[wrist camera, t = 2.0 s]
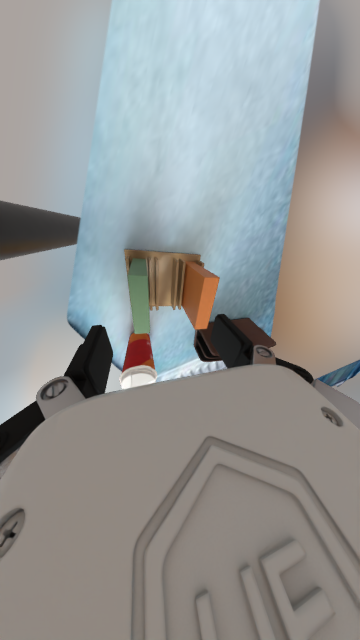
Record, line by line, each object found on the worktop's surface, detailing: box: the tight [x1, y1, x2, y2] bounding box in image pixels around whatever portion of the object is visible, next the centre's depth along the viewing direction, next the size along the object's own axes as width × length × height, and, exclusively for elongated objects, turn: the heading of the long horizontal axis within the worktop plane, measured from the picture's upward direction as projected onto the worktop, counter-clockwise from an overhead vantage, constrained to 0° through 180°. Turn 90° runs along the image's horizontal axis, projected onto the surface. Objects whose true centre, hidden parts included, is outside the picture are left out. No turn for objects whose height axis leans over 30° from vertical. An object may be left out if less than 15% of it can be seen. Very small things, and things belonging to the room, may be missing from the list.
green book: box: [128, 258, 150, 334], centre depth 26 cm, size 3×10×13 cm, turn 174°
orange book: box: [181, 261, 220, 329], centre depth 28 cm, size 3×10×13 cm, turn 174°
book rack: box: [124, 249, 204, 310], centre depth 31 cm, size 17×13×5 cm
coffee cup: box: [119, 333, 157, 389], centre depth 35 cm, size 8×8×15 cm
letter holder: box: [194, 318, 276, 362], centre depth 42 cm, size 10×20×14 cm, turn 88°
